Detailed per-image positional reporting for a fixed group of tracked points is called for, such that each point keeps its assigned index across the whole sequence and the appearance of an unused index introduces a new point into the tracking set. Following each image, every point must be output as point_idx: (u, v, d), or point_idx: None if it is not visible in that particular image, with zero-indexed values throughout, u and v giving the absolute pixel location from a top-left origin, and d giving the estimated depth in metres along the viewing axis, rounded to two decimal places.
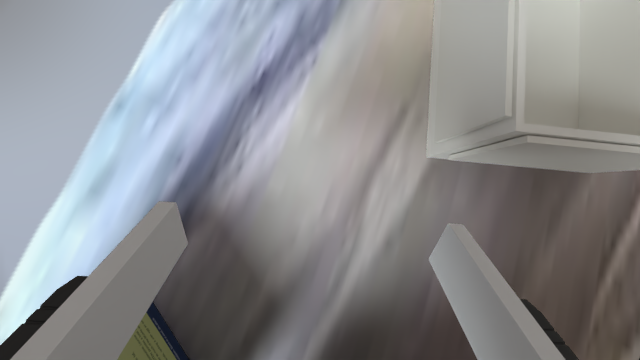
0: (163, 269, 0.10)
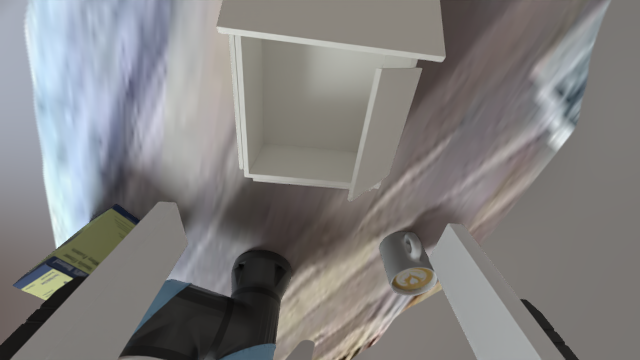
0: (163, 269, 0.10)
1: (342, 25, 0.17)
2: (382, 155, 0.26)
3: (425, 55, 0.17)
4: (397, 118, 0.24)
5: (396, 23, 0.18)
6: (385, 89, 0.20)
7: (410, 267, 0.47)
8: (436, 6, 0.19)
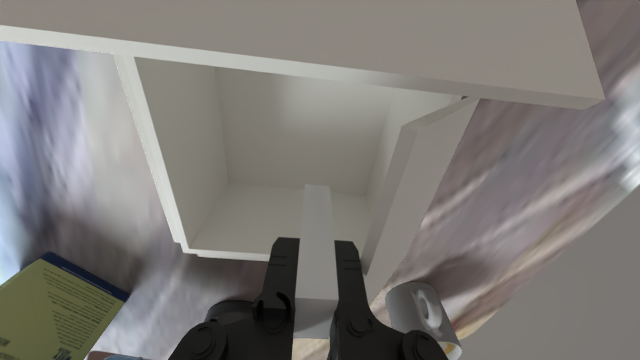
0: None
1: (307, 9, 0.06)
2: (400, 248, 0.15)
3: (545, 95, 0.06)
4: (429, 190, 0.13)
5: (458, 4, 0.07)
6: (419, 164, 0.08)
7: None
8: None
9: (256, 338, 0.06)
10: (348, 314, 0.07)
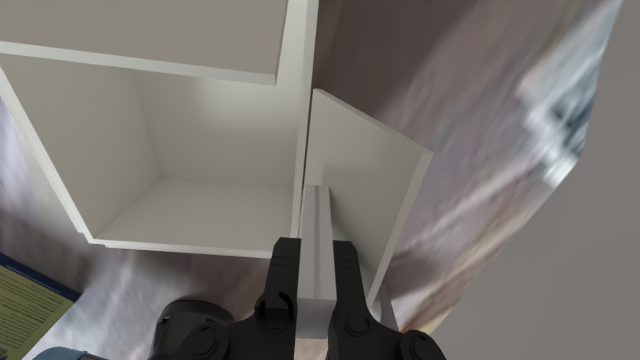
0: None
1: None
2: None
3: (223, 71, 0.07)
4: None
5: None
6: None
7: None
8: None
9: (258, 338, 0.06)
10: (346, 314, 0.07)
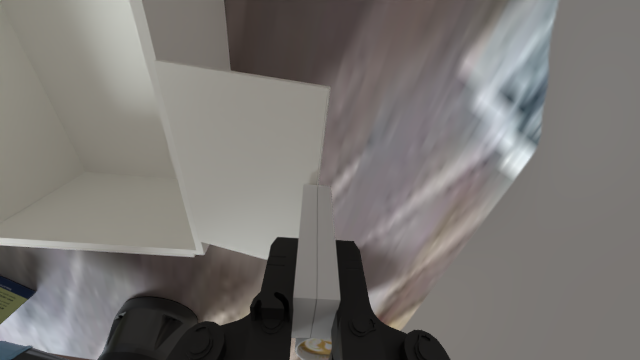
0: None
1: None
2: None
3: None
4: None
5: None
6: None
7: None
8: None
9: (254, 338, 0.06)
10: (350, 314, 0.07)
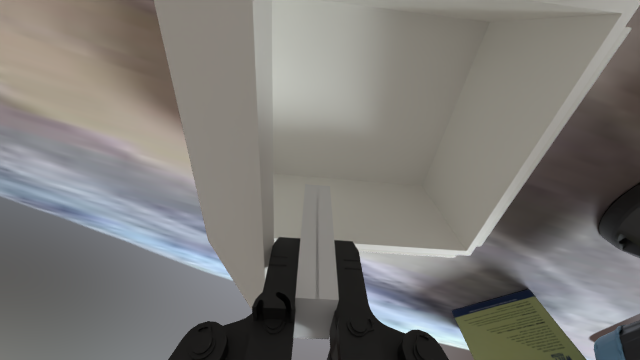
0: None
1: (241, 197, 0.10)
2: None
3: (257, 8, 0.05)
4: None
5: (218, 85, 0.08)
6: None
7: None
8: None
9: (256, 338, 0.06)
10: (348, 314, 0.07)
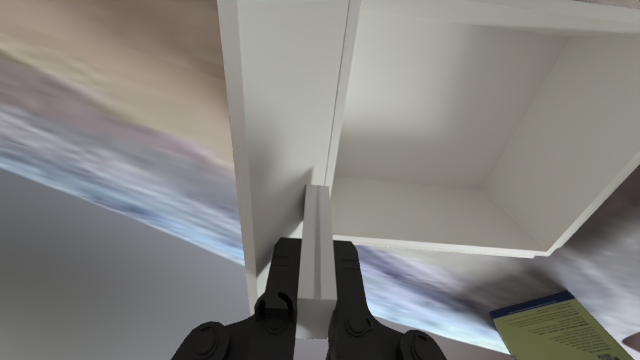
0: None
1: None
2: None
3: (221, 6, 0.05)
4: None
5: None
6: None
7: None
8: None
9: (258, 338, 0.06)
10: (346, 314, 0.07)
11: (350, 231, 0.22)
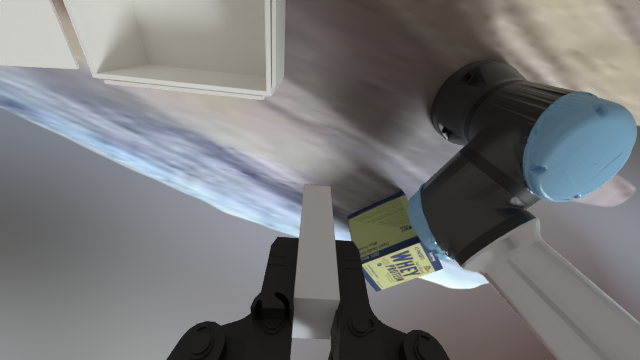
0: None
1: None
2: None
3: None
4: None
5: None
6: None
7: None
8: None
9: (255, 338, 0.06)
10: (349, 314, 0.07)
11: (120, 74, 0.31)
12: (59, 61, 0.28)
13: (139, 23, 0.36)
